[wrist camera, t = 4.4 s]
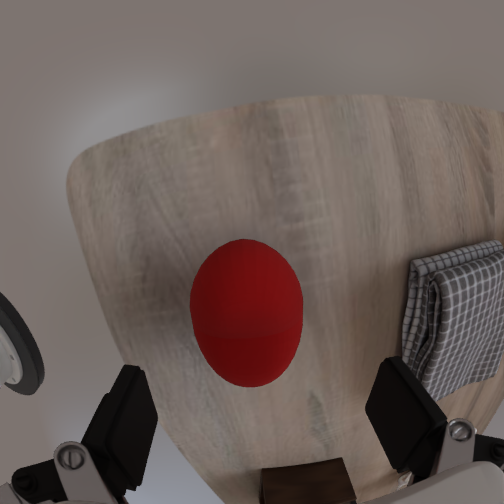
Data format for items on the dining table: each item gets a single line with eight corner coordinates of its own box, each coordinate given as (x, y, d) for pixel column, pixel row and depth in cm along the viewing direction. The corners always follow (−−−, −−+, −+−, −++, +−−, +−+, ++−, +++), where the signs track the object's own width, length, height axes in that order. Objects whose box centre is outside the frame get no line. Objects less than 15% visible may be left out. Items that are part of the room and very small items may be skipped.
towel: (487, 232, 23) (533, 248, 16) (467, 352, 28) (497, 379, 21) (399, 256, 23) (452, 286, 15) (387, 391, 28) (413, 432, 20)
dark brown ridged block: (258, 497, 35) (263, 539, 24) (261, 468, 31) (267, 523, 21) (324, 488, 35) (335, 527, 25) (342, 457, 32) (359, 506, 22)
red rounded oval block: (195, 224, 21) (164, 261, 12) (283, 218, 21) (322, 249, 12) (208, 327, 24) (197, 408, 14) (285, 321, 24) (313, 399, 14)
